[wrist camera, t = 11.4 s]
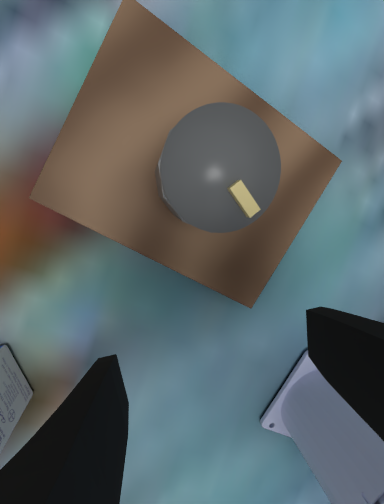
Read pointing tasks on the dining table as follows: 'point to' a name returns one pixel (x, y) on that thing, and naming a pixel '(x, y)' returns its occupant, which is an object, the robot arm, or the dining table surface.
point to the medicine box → (11, 394)
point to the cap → (219, 168)
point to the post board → (149, 151)
